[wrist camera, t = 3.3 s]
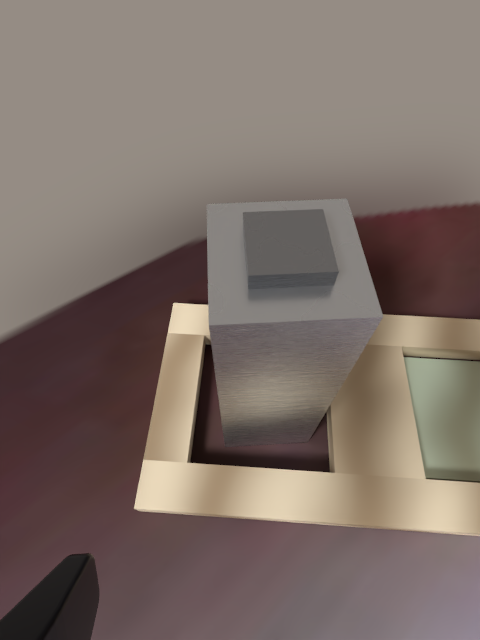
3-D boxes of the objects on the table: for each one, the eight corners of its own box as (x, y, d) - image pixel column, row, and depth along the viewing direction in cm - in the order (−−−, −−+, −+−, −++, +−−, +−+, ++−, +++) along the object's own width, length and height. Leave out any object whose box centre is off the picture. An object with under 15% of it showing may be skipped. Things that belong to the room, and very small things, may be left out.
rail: (540, 333, 25) (553, 323, 24) (628, 547, 18) (651, 546, 17) (176, 313, 25) (173, 303, 24) (139, 511, 19) (134, 508, 18)
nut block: (307, 442, 21) (391, 304, 9) (225, 447, 21) (207, 312, 9) (296, 366, 23) (351, 183, 12) (222, 370, 23) (205, 188, 12)
